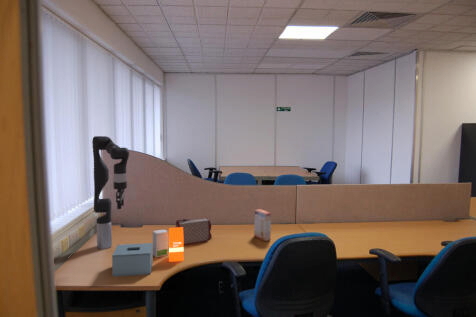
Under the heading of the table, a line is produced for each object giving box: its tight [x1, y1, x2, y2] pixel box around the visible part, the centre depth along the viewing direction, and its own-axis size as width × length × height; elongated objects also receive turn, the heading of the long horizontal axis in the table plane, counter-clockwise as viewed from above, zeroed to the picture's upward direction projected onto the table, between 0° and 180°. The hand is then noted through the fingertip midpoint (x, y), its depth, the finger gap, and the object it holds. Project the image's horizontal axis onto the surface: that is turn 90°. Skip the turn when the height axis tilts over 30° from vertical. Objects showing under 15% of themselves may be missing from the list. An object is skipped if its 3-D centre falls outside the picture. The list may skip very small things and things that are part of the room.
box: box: [111, 242, 154, 277], centre depth 179 cm, size 16×20×12 cm
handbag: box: [175, 217, 213, 246], centre depth 226 cm, size 28×11×17 cm, turn 120°
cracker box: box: [253, 208, 272, 242], centre depth 235 cm, size 14×6×21 cm, turn 29°
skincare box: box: [152, 229, 169, 258], centre depth 200 cm, size 8×7×16 cm
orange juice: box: [168, 227, 185, 263], centre depth 194 cm, size 8×9×20 cm
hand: (120, 207), depth 189 cm, fingers open, 8 cm apart
